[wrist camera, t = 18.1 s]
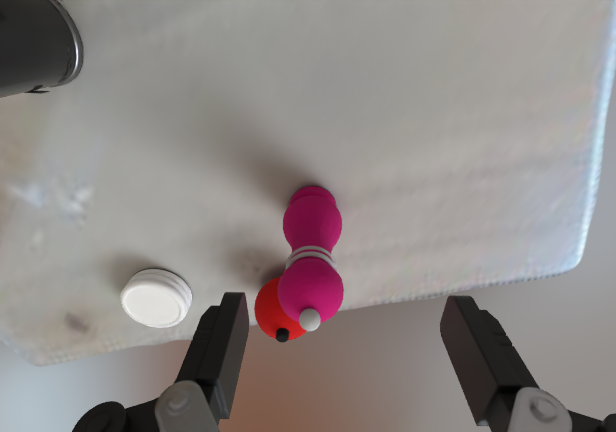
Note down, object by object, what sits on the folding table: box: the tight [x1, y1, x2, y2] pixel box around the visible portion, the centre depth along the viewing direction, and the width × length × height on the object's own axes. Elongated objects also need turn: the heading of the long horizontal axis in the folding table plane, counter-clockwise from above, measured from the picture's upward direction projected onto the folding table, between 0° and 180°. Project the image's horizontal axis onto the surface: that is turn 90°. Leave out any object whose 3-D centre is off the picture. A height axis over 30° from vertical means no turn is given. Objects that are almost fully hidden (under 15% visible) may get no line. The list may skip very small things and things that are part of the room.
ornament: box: [254, 277, 307, 342], centre depth 46 cm, size 9×9×10 cm
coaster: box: [120, 269, 192, 328], centre depth 50 cm, size 10×10×4 cm
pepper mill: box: [278, 186, 344, 331], centre depth 34 cm, size 7×7×20 cm
